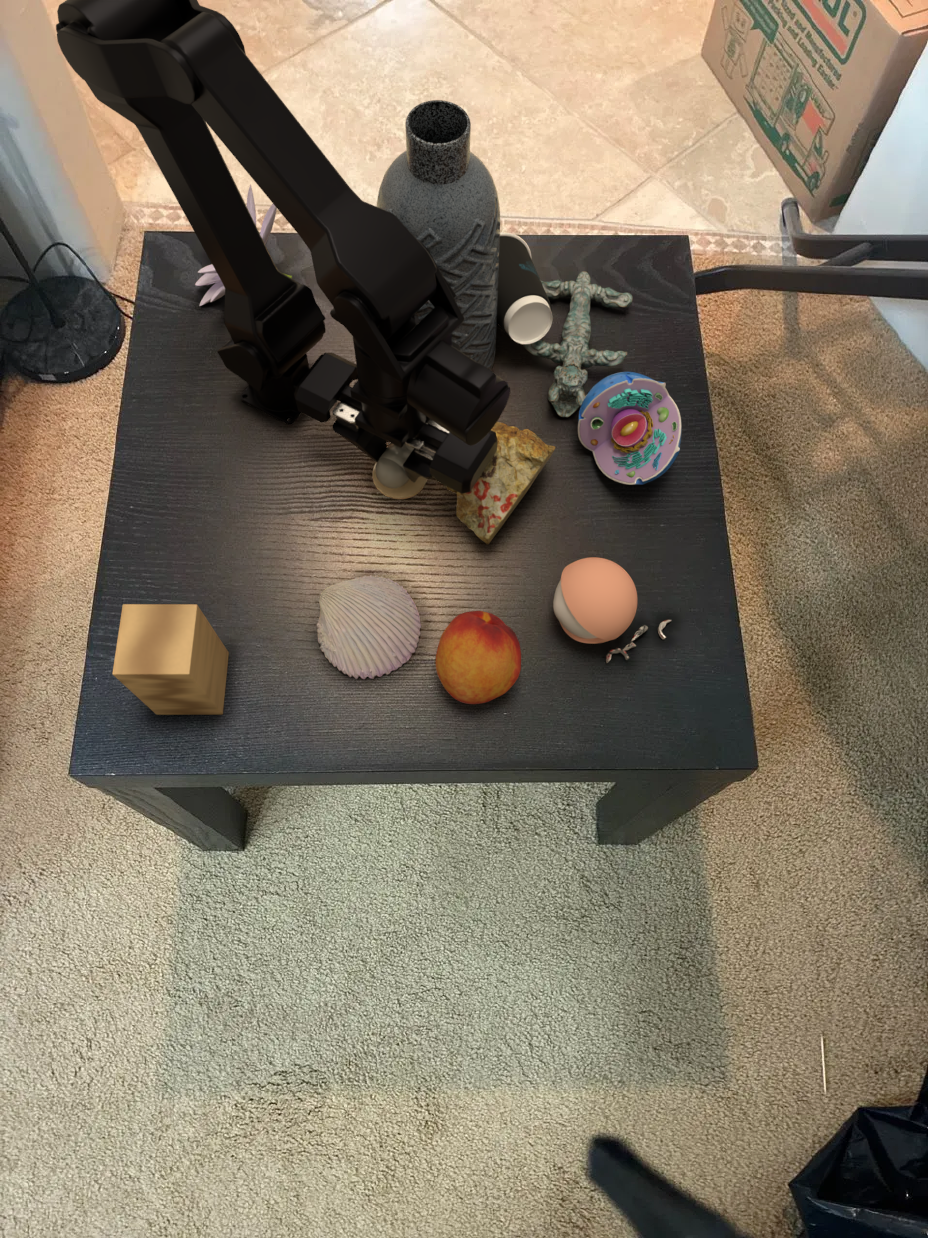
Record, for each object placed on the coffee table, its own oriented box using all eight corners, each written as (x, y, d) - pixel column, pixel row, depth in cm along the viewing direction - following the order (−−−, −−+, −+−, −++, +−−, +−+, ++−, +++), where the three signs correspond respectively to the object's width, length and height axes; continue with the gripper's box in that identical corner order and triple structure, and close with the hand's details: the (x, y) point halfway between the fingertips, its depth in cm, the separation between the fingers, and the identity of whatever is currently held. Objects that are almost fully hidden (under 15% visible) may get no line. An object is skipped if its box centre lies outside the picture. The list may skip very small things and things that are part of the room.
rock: (496, 548, 91) (498, 551, 81) (424, 507, 91) (417, 505, 81) (553, 449, 90) (562, 440, 80) (480, 407, 90) (480, 393, 80)
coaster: (362, 484, 88) (361, 481, 88) (390, 443, 90) (390, 441, 90) (409, 508, 87) (409, 506, 87) (437, 467, 89) (437, 464, 89)
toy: (680, 629, 82) (668, 611, 83) (612, 667, 80) (600, 647, 81) (675, 633, 84) (663, 615, 84) (608, 670, 81) (596, 651, 82)
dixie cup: (497, 366, 91) (466, 308, 98) (568, 344, 92) (533, 288, 98) (489, 300, 85) (457, 243, 91) (566, 277, 85) (528, 222, 92)
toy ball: (537, 588, 84) (546, 551, 77) (612, 571, 85) (629, 533, 78) (561, 664, 81) (573, 633, 74) (639, 645, 82) (658, 613, 75)
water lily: (312, 200, 99) (242, 153, 94) (336, 255, 90) (259, 206, 84) (249, 305, 106) (180, 266, 100) (264, 367, 96) (188, 328, 91)
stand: (156, 715, 79) (111, 674, 68) (164, 652, 81) (122, 603, 70) (223, 714, 79) (189, 674, 68) (229, 652, 81) (197, 603, 70)
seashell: (347, 542, 82) (433, 583, 79) (361, 573, 87) (443, 613, 83) (281, 625, 79) (369, 673, 75) (300, 653, 83) (383, 699, 80)
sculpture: (508, 416, 91) (513, 381, 87) (531, 291, 101) (536, 254, 97) (615, 432, 91) (625, 398, 87) (628, 305, 100) (637, 269, 96)
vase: (412, 299, 97) (402, 50, 71) (512, 337, 96) (539, 97, 69) (362, 379, 93) (332, 146, 67) (465, 421, 91) (476, 199, 65)
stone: (400, 501, 87) (398, 482, 84) (369, 485, 88) (367, 466, 84) (428, 459, 89) (428, 439, 86) (398, 444, 90) (396, 424, 86)
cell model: (633, 520, 88) (582, 477, 81) (596, 440, 95) (547, 395, 88) (719, 462, 84) (673, 411, 77) (674, 383, 90) (628, 330, 84)
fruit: (536, 667, 81) (546, 636, 74) (479, 730, 79) (484, 705, 72) (473, 615, 83) (476, 580, 76) (415, 675, 81) (413, 644, 73)
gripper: (533, 349, 75) (518, 450, 89) (348, 263, 78) (362, 374, 92) (470, 445, 71) (464, 534, 85) (278, 350, 74) (304, 452, 88)
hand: (399, 469), depth 88 cm, fingers closed on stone, 3 cm apart
